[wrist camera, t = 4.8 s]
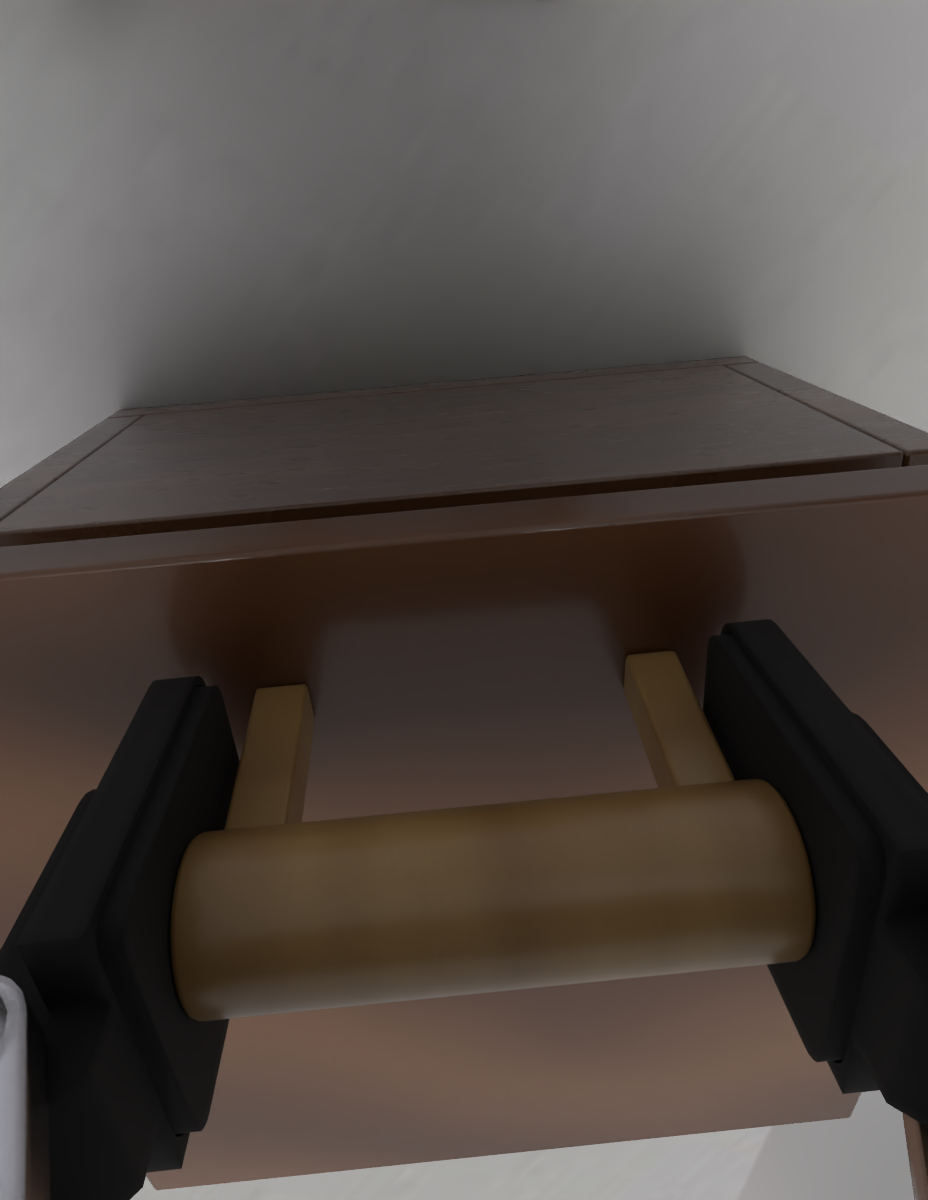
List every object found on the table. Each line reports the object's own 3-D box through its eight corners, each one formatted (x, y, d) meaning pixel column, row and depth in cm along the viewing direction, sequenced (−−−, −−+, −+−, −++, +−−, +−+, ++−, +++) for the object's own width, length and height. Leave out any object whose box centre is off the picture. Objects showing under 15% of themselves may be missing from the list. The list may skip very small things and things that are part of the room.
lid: (-217, 563, 10) (-645, 913, 6) (1100, 447, 10) (1559, 700, 6) (162, 1154, 20) (100, 1442, 16) (836, 1084, 20) (949, 1348, 16)
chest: (117, 409, 21) (-83, 539, 13) (747, 355, 22) (966, 446, 13) (239, 871, 28) (163, 1153, 20) (709, 826, 29) (835, 1083, 20)
